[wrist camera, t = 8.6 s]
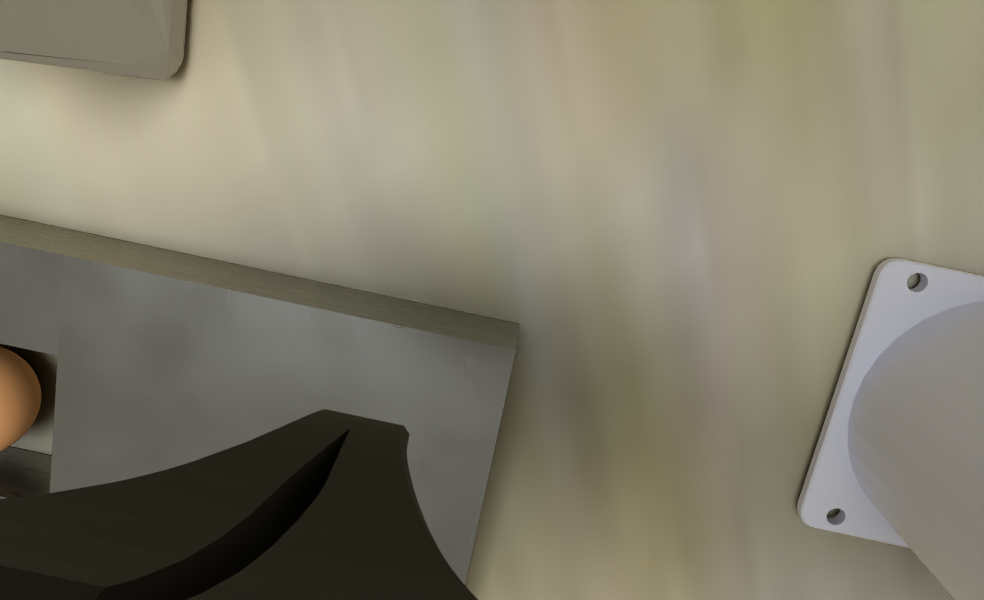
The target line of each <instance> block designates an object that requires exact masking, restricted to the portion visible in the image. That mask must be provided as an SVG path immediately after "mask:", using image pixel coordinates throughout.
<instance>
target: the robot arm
mask: <svg viewBox="0 0 984 600" xmlns="http://www.w3.org/2000/svg"><path fill="white" fill-rule="evenodd" d="M915 273H919V275H920V276H921V277H920V283H919V284H918V286H916V287H915V288H913V289H909V288H908V286H907V280H908V279H909V277H910V276H911V275H913V274H915ZM409 435H410V434H409V433H408V431H407V430H406V428H405V426H404V425H399V424H394V423H389V422H385V421H380V420H375V419H370V418H365V417H361V416H356V415H351V414H346V413H341V412H337V411H332V410H327V409H324V410H320V411H317V412H314V413H312V414H309V415H307V416H305V417H302V418H300V419H298V420H296V421H293V422H291V423H289V424H287V425H284V426H282V427H280V428H277V429H275V430H273V431H270V432H268V433H266V434H263V435H261V436H259V437H257V438H254V439H252V440H250V441H247V442H245V443H242V444H239V445H236V446H234V447H231V448H228V449H226V450H223V451H220V452H217V453H215V454H212V455H209V456H206V457H204V458H201V459H198V460H196V461H193V462H189V463H186V464H183V465H180V466H176V467H173V468H170V469H166V470H163V471H159V472H155V473H151V474H147V475H143V476H139V477H135V478H131V479H126V480H122V481H117V482H112V483H106V484H100V485H95V486H89V487H83V488H77V489H71V490H65V491H59V492H54V493H48V494H40V495H32V496H23V497H13V498H4V499H0V600H478V599H477V598H476V597H475V596H474V595H473V594H472V593H471V592H470V591H469V590H468V588H467V587H466V586H465V585H464V584H463V582H462V581H461V580H460V579H459V577H458V576H457V575H456V573H455V572H454V571H453V570H452V568H451V567H450V565H449V564H448V562H447V561H446V559H445V558H444V556H443V555H442V553H441V551H440V549H439V547H438V546H437V544H436V542H435V540H434V538H433V536H432V534H431V532H430V530H429V528H428V526H427V524H426V521H425V519H424V517H423V514H422V511H421V509H420V506H419V503H418V501H417V498H416V494H415V491H414V488H413V484H412V480H411V476H410V472H409V466H408V460H407V446H408V441H409ZM834 508H839V509H840V512H839V514H838V515H837V516H835V517H833V518H827V513H828V512H829V511H830V510H832V509H834ZM797 511H798V514H799V516H800V518H801V519H802V521H803V522H804V523H805V524H806V525H808V526H811V527H813V528H818V529H822V530H827V531H832V532H837V533H841V534H846V535H851V536H855V537H860V538H865V539H869V540H874V541H879V542H884V543H888V544H893V545H898V546H902V547H907V548H910V549H911V550H912V551H913V552H914V553H915V554H916V556H917V557H918V558H919V559H920V560H921V561H922V562H923V564H924V565H925V566H926V567H927V568H928V569H929V571H930V572H931V573H932V574H933V575H934V576H935V578H936V579H937V580H938V581H939V582H940V583H941V585H942V586H943V587H944V588H945V589H946V590H947V592H948V593H949V594H950V595H951V596H952V597H953V599H954V600H984V276H983V275H978V274H974V273H969V272H964V271H959V270H954V269H949V268H945V267H940V266H935V265H930V264H925V263H920V262H916V261H911V260H906V259H901V258H890V259H887V260H884V261H883V262H882V263H881V264H879V265H878V267H877V268H876V270H875V272H874V275H873V278H872V281H871V284H870V287H869V290H868V293H867V296H866V299H865V302H864V305H863V308H862V311H861V314H860V317H859V320H858V323H857V326H856V329H855V332H854V335H853V338H852V341H851V344H850V347H849V350H848V353H847V356H846V359H845V362H844V365H843V368H842V371H841V374H840V377H839V380H838V383H837V386H836V389H835V392H834V395H833V398H832V401H831V404H830V407H829V410H828V413H827V416H826V419H825V422H824V425H823V428H822V431H821V434H820V437H819V440H818V443H817V446H816V449H815V452H814V455H813V458H812V461H811V464H810V467H809V470H808V473H807V476H806V479H805V482H804V485H803V488H802V491H801V494H800V497H799V500H798V503H797Z"/></svg>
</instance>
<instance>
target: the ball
mask: <svg viewBox="0 0 984 600" xmlns="http://www.w3.org/2000/svg"><path fill="white" fill-rule="evenodd" d="M40 404H41V388H40V384H39V381H38V378H37V376H36V374H35V372H34V371H33V369H32V368H31V367H30V365H29V364H28V363H27V362H26V361H25V360H24V359H23V358H21V357H20V356H18V355H17V354H16V353H14V352H12V351H10V350H8V349H5V348H3V347H0V451H1V450H3V449H5V448H7V447H9V446H11V445H12V444H14V443H15V442H16V441H18V440H19V439H20V438H21V437H22V436H23V435H24V434H25V433H26V432H27V431H28V430H29V429H30V427H31V426H32V424H33V423H34V421H35V419H36V417H37V415H38V412H39V408H40Z"/></svg>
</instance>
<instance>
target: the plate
mask: <svg viewBox="0 0 984 600" xmlns="http://www.w3.org/2000/svg"><path fill="white" fill-rule="evenodd" d="M518 328H519V324H517V323H513V322H508V321H503V320H498V319H494V318H489V317H484V316H479V315H475V314H470V313H465V312H460V311H456V310H451V309H446V308H441V307H436V306H432V305H427V304H422V303H417V302H413V301H408V300H403V299H398V298H394V297H389V296H384V295H379V294H375V293H370V292H365V291H360V290H355V289H351V288H346V287H341V286H336V285H332V284H327V283H322V282H317V281H313V280H308V279H303V278H298V277H294V276H289V275H284V274H279V273H275V272H270V271H265V270H260V269H255V268H251V267H246V266H241V265H236V264H232V263H227V262H222V261H217V260H213V259H208V258H203V257H198V256H194V255H189V254H184V253H179V252H174V251H170V250H165V249H160V248H155V247H151V246H146V245H141V244H136V243H132V242H127V241H122V240H117V239H113V238H108V237H103V236H98V235H93V234H89V233H84V232H79V231H74V230H70V229H65V228H60V227H55V226H51V225H46V224H41V223H36V222H32V221H27V220H22V219H17V218H13V217H8V216H3V215H0V344H5V345H10V346H14V347H19V348H24V349H28V350H33V351H38V352H43V353H47V354H52V355H57V356H58V359H57V376H56V393H55V410H54V427H53V444H52V456H50V455H45V454H41V453H36V452H31V451H27V450H22V449H17V448H13V447H7V448H5V449H3V450H1V451H0V499H4V498H13V497H23V496H32V495H40V494H48V493H54V492H59V491H65V490H71V489H77V488H83V487H89V486H95V485H100V484H106V483H112V482H117V481H122V480H126V479H131V478H135V477H139V476H143V475H147V474H151V473H155V472H159V471H163V470H166V469H170V468H173V467H176V466H180V465H183V464H186V463H189V462H193V461H196V460H198V459H201V458H204V457H206V456H209V455H212V454H215V453H217V452H220V451H223V450H226V449H228V448H231V447H234V446H236V445H239V444H242V443H245V442H247V441H250V440H252V439H254V438H257V437H259V436H261V435H263V434H266V433H268V432H270V431H273V430H275V429H277V428H280V427H282V426H284V425H287V424H289V423H291V422H293V421H296V420H298V419H300V418H302V417H305V416H307V415H309V414H312V413H314V412H317V411H320V410H324V409H327V410H332V411H337V412H341V413H346V414H351V415H356V416H361V417H365V418H370V419H375V420H380V421H385V422H389V423H394V424H399V425H404V426H405V428H406V430H407V431H408V433H409V434H410V435H409V441H408V446H407V460H408V466H409V472H410V476H411V480H412V484H413V488H414V491H415V494H416V498H417V501H418V503H419V506H420V509H421V511H422V514H423V517H424V519H425V521H426V524H427V526H428V528H429V530H430V532H431V534H432V536H433V538H434V540H435V542H436V544H437V546H438V547H439V549H440V551H441V553H442V555H443V556H444V558H445V559H446V561H447V562H448V564H449V565H450V567H451V568H452V570H453V571H454V572H455V573H456V575H457V576H458V577H459V579H460V580H461V581H462V582H463V584H464V585H465V583H466V578H467V574H468V569H469V564H470V560H471V555H472V551H473V546H474V541H475V537H476V532H477V528H478V523H479V518H480V514H481V509H482V505H483V500H484V495H485V491H486V486H487V482H488V477H489V472H490V468H491V463H492V459H493V454H494V449H495V445H496V440H497V436H498V431H499V426H500V422H501V417H502V413H503V408H504V403H505V399H506V394H507V390H508V385H509V380H510V376H511V371H512V367H513V362H514V357H515V353H516V346H517V337H518Z"/></svg>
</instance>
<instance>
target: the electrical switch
mask: <svg viewBox="0 0 984 600" xmlns="http://www.w3.org/2000/svg"><path fill="white" fill-rule="evenodd" d="M186 15H187V0H0V59H8V60H16V61H23V62H31V63H39V64H46V65H54V66H62V67H69V68H77V69H84V70H92V71H100V72H106V74H114V75H123V76H132V77H137V78H147V79H158V80H167V79H168V78H170V77H171V76H172V75H174V74H175V73H176V72H177V71H178V69H179V67H180V65H181V63H182V61H183V58H184V46H185V30H186Z"/></svg>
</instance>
